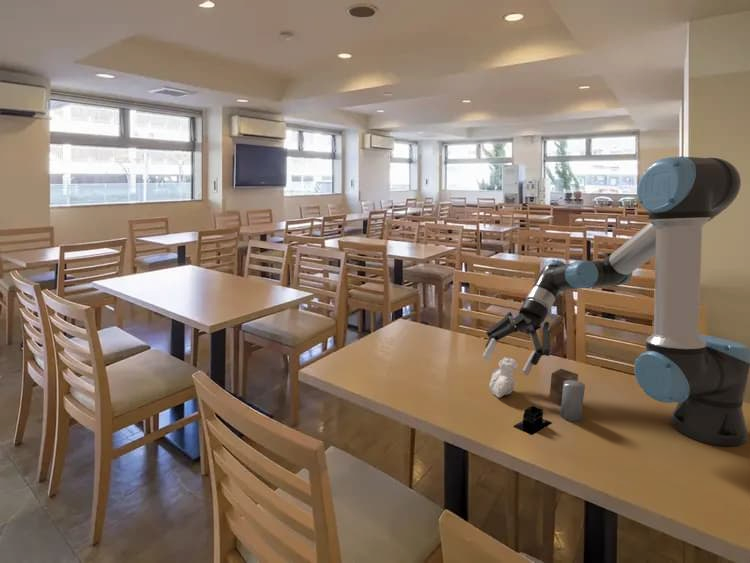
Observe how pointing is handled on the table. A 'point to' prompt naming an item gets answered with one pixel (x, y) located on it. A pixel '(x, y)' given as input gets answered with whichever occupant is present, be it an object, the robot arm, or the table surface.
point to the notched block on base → (532, 421)
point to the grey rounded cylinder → (572, 400)
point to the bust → (503, 378)
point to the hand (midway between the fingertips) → (504, 365)
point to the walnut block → (560, 384)
